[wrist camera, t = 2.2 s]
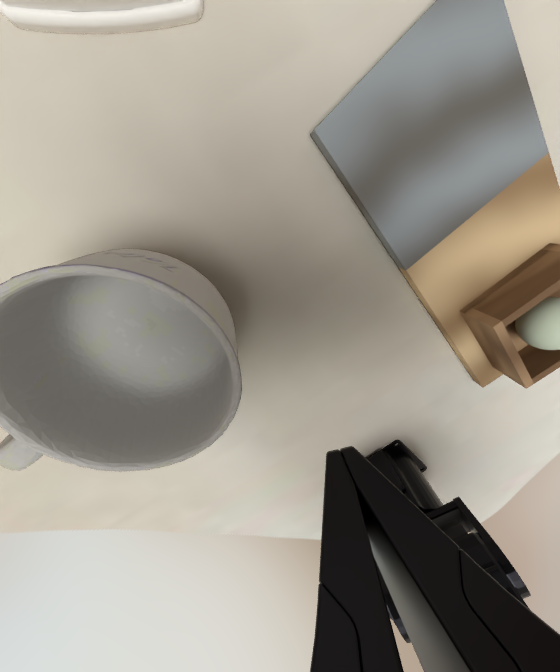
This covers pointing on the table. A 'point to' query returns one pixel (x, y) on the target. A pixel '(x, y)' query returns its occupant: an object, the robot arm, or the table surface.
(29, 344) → the teacup
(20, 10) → the soap
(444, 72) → the flat board
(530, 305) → the walnut box
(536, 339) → the sage ball
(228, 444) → the table surface
